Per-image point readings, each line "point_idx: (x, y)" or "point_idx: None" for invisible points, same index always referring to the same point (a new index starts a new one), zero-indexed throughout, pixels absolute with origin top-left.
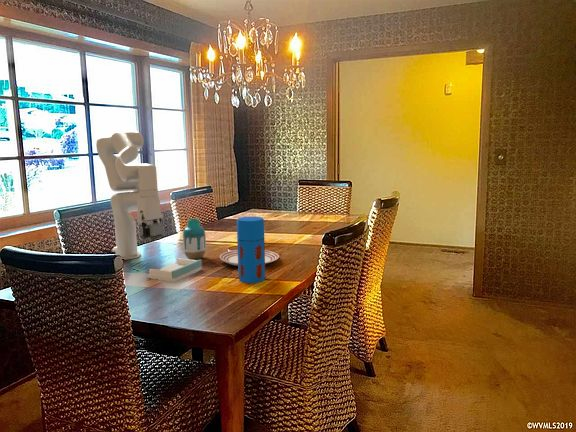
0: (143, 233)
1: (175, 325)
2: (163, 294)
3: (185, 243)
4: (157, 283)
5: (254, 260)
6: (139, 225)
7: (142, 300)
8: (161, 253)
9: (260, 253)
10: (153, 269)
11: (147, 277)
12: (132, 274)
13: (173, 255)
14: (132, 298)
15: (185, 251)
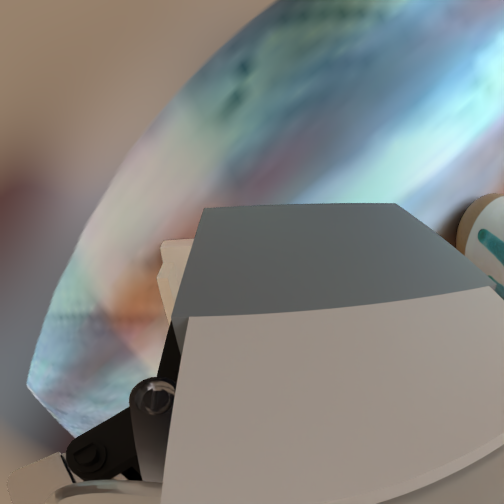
0: (170, 328)
1: (65, 426)
2: (106, 373)
3: (496, 250)
4: (146, 315)
5: None
6: (177, 305)
7: (55, 355)
8: (494, 43)
9: None
10: (164, 297)
11: (163, 244)
12: (168, 132)
13: (492, 109)
14: (42, 330)
15: (474, 226)
